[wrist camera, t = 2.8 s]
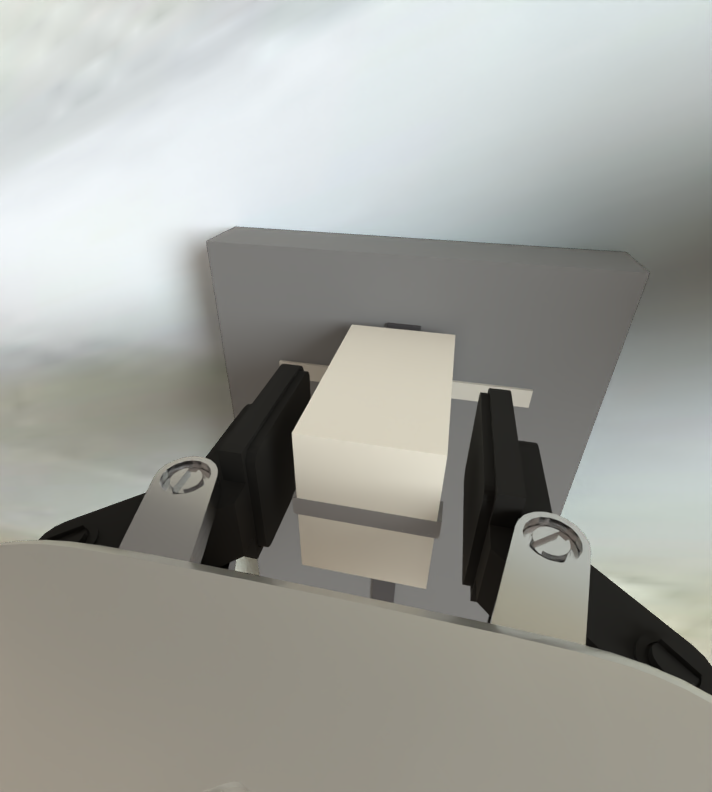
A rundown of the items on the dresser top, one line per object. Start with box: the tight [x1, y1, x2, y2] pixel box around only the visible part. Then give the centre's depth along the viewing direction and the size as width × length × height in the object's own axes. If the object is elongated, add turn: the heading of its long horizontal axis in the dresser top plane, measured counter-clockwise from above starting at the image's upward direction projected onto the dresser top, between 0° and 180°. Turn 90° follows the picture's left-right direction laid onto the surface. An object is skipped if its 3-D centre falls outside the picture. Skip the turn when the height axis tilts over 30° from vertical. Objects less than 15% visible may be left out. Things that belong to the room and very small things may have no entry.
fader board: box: [206, 227, 650, 623], centre depth 19 cm, size 12×24×2 cm, turn 179°
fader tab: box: [292, 325, 455, 589], centre depth 12 cm, size 3×4×5 cm
